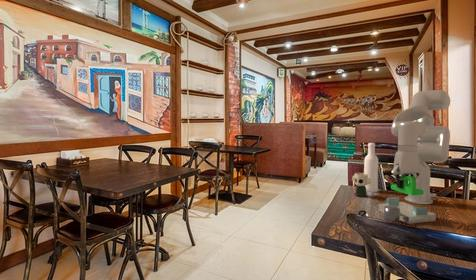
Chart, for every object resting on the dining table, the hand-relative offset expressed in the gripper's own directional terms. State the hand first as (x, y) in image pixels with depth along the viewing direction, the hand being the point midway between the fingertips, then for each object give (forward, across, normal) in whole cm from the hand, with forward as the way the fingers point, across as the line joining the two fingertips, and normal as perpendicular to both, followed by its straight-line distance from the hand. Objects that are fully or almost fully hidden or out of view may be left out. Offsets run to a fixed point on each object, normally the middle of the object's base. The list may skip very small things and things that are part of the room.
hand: (406, 187), depth 124 cm
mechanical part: (+2, 0, 0) cm, 2 cm away
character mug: (+13, -1, -33) cm, 36 cm away
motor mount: (+13, +4, 0) cm, 14 cm away
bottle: (+13, -14, -41) cm, 45 cm away
